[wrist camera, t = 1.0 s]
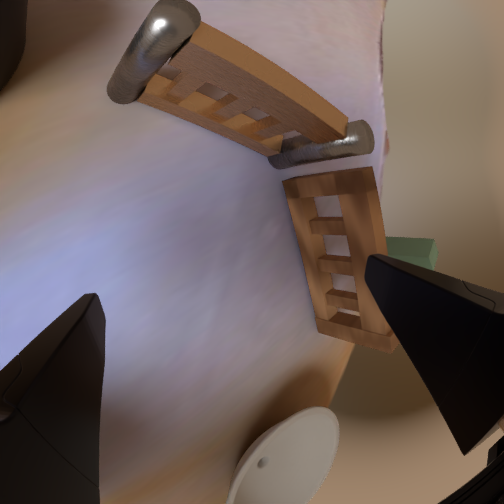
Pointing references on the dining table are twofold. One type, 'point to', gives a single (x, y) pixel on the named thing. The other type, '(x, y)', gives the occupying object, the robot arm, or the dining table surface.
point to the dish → (287, 460)
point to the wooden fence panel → (232, 90)
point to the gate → (360, 245)
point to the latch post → (413, 250)
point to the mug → (11, 36)
